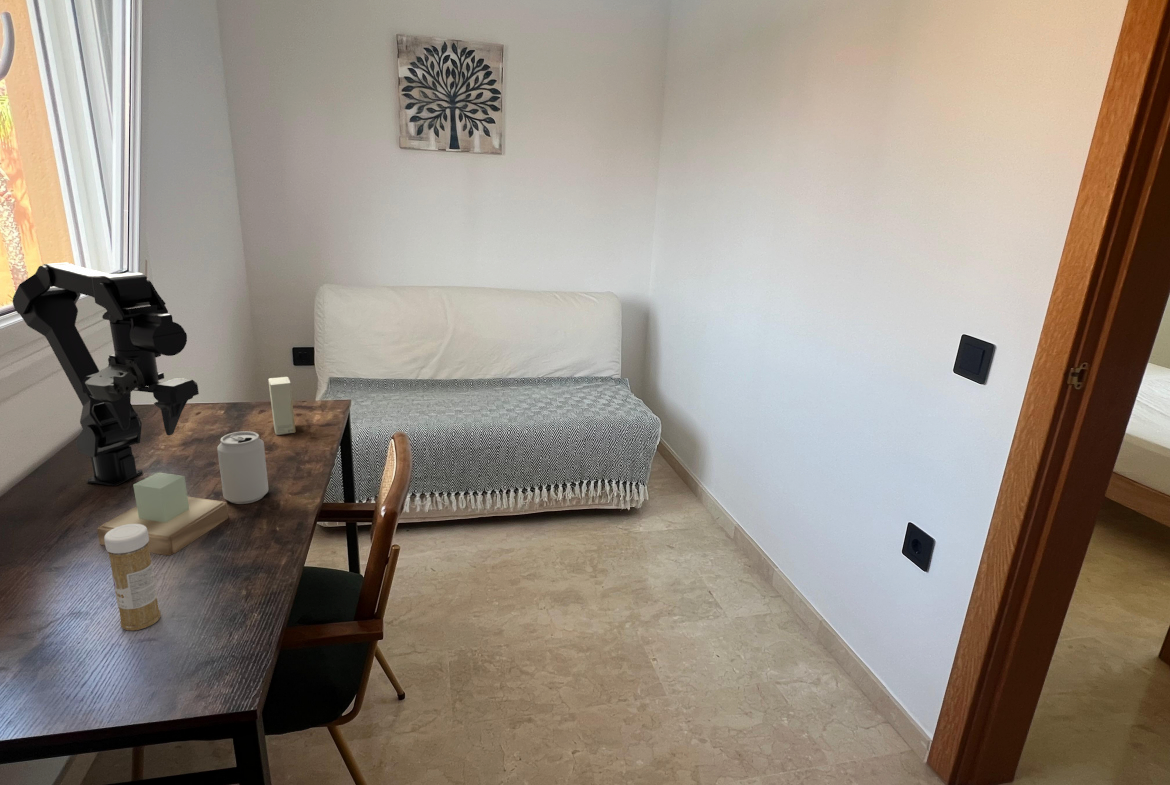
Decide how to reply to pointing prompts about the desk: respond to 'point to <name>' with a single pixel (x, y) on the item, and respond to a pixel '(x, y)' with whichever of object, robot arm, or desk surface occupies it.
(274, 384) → the skincare box
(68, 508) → the desk surface
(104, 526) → the base slab
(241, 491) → the can
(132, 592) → the sprinkles bottle
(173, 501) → the green block
